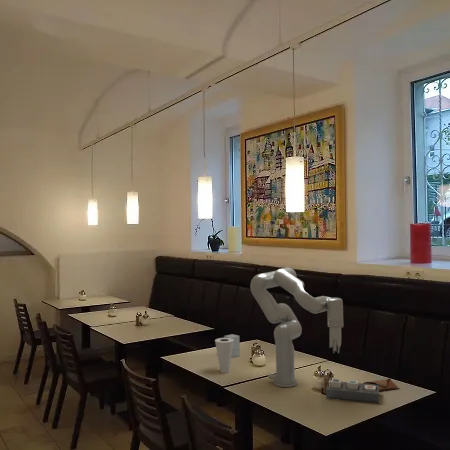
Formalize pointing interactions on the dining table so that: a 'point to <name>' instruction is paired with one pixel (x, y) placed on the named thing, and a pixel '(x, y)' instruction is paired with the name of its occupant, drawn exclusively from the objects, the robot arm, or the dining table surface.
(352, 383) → the key mid
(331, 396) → the block
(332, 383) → the key left
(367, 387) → the key right
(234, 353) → the supplement box
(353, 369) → the dining table surface
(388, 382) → the sunglasses case
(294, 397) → the dining table surface
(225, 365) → the cup
